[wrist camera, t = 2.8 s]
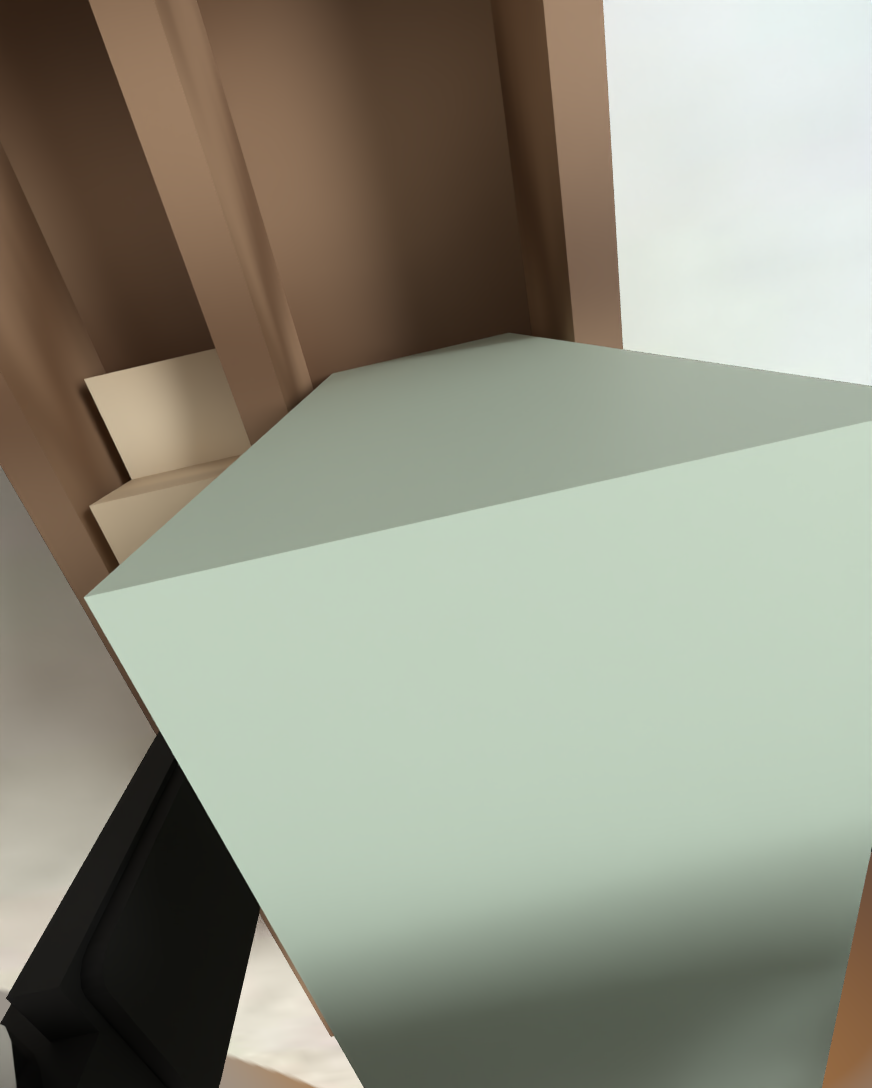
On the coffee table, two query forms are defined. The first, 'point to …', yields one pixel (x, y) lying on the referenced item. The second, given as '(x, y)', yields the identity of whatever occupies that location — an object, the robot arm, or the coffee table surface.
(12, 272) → the tray
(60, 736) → the coffee table surface
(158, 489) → the offcut upper
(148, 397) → the offcut lower
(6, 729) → the coffee table surface
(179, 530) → the pale green block
